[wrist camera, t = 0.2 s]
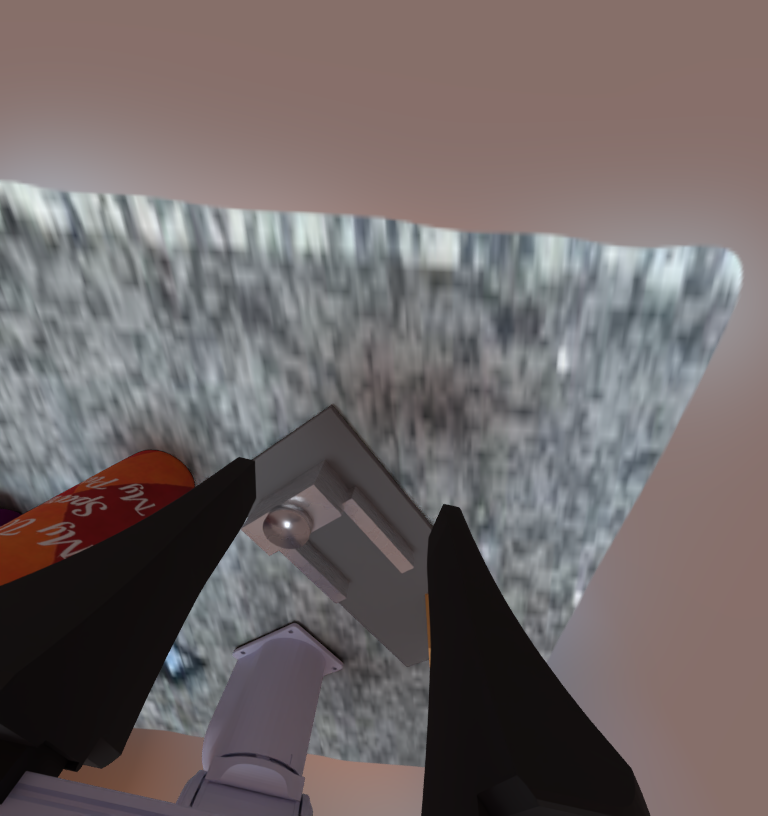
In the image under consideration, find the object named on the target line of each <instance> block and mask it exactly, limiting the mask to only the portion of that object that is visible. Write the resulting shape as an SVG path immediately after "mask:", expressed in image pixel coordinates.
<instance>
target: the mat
mask: <svg viewBox="0 0 768 816" xmlns="http://www.w3.org/2000/svg"><path fill="white" fill-rule="evenodd" d="M253 460H254V461H255V473H256V500H255V502H254V504H253V506H252V508H251V510H250V512H249V514H248V516H247V517H249V516H250V514H251V513H252V511H253V510H254V508H255V507H256V505H257V504H258V502H259V501H261V500H262V499H264V498H265V497H267V496H269V495H270V494H272V493H273V492H275V491H276V490H278V489H280V488H281V487H283V486H284V485H286V484H288V483H289V482H291V481H292V480H294V479H296V478H297V477H299V476H300V475H302V474H303V473H305V472H307V471H308V470H310V469H311V468H313V467H315V466H316V465H318V464H319V463H321V462H322V461H324V460H325V461H326V462H327V463H328V464H329V465H330V466H331V467H332V468H333V470H334V471H335V472H336V473H337V474H338V475H339V476H340V477H341V479H342V480H343V481H344V482H345V483H346V484H347V485H348V486H349V488H351V487H352V486H354V485H356V486H357V487H358V488H359V489H360V490H361V492H362V493H363V494H364V495H365V496H366V497H367V498H368V500H369V501H370V502H371V503H372V504H373V505H374V506H375V508H376V509H377V510H378V511H379V512H380V513H381V514H382V516H383V517H384V518H385V519H386V520H387V521H388V522H389V523H390V525H391V526H392V527H393V528H394V529H395V530H396V531H397V533H398V534H399V535H400V536H401V537H402V538H403V539H404V541H405V542H406V543H407V544H408V545H409V546H410V547H411V549H412V550H413V551H414V568H413V569H410V570H408V571H406V572H404V573H401V572H400V571H399V570H398V569H397V568H396V567H395V566H394V564H393V563H392V562H391V561H390V560H389V559H388V558H387V557H386V556H385V555H384V554H383V553H382V551H381V550H380V549H379V548H378V547H377V546H376V545H375V544H374V543H373V542H372V541H371V540H370V539H369V537H368V536H367V535H366V534H365V533H364V532H363V531H362V530H361V529H360V528H359V527H358V526H357V524H356V523H355V522H354V521H353V520H352V519H351V518H350V517H349V516H348V515H347V514H346V513H345V511H343V515H342V516H340V517H339V518H337V519H335V520H333V521H331V522H330V523H328V524H326V525H324V526H322V527H320V528H319V529H317V530H315V531H313V532H311V534H310V536H309V539H308V541H309V542H310V543H311V544H312V545H313V546H314V547H315V548H316V549H317V550H318V551H319V552H320V553H321V554H322V555H323V556H324V557H325V558H326V559H327V560H328V561H329V562H330V563H331V564H333V565H334V566H335V567H336V568H337V569H338V570H339V571H340V572H341V573H342V574H343V575H344V576H345V577H346V578H347V579H348V580H349V581H350V583H349V588H348V593H347V599H344V600H342V601H340V602H338V603H340V604H341V605H342V606H343V607H344V608H345V609H346V610H347V611H348V612H349V613H350V614H351V615H352V616H353V617H354V618H355V619H357V620H358V621H359V622H360V623H361V624H362V625H363V626H364V627H365V628H366V629H367V630H368V631H369V632H370V633H371V634H372V635H373V636H375V637H376V638H377V639H378V640H379V641H380V642H381V643H382V644H383V645H384V646H385V647H386V648H387V649H388V650H389V651H390V652H392V653H393V654H394V655H395V656H396V657H397V658H398V659H399V660H400V661H401V662H402V663H403V664H404V665H405V666H406V667H409V666H412V665H414V664H417V663H420V662H423V661H426V660H429V649H428V634H427V618H426V602H425V594H428V579H427V552H428V537H429V535H430V533H431V530H432V528H433V527H432V526H431V524H430V523H429V522H428V521H427V519H426V518H425V517H424V516H423V515H422V513H421V512H420V511H419V510H418V509H417V507H416V506H415V505H414V504H413V502H412V501H411V500H410V499H409V498H408V496H407V495H406V494H405V493H404V492H403V490H402V489H401V488H400V487H399V486H398V484H397V483H396V482H395V481H394V479H393V478H392V477H391V476H390V475H389V473H388V472H387V471H386V470H385V469H384V467H383V466H382V465H381V464H380V462H379V461H378V460H377V459H376V458H375V456H374V455H373V454H372V453H371V452H370V450H369V449H368V448H367V447H366V445H365V444H364V443H363V442H362V441H361V439H360V438H359V437H358V436H357V435H356V433H355V432H354V431H353V430H352V428H351V427H350V426H349V425H348V424H347V422H346V421H345V420H344V419H343V418H342V416H341V415H340V414H339V413H338V412H337V410H336V409H335V408H334V407H333V405H331V406H329V407H328V408H327V409H325V410H324V411H322V412H321V413H319V414H318V415H316V416H315V417H314V418H312V419H311V420H309V421H308V422H306V423H305V424H303V425H302V426H300V427H299V428H298V429H296V430H295V431H293V432H292V433H290V434H289V435H287V436H286V437H285V438H283V439H282V440H280V441H279V442H277V443H276V444H274V445H273V446H271V447H270V448H269V449H267V450H266V451H264V452H263V453H261V454H260V455H258V456H257V457H256V458H254V459H253Z"/></svg>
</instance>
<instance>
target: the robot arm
mask: <svg viewBox="0 0 768 816" xmlns="http://www.w3.org/2000/svg"><path fill="white" fill-rule="evenodd" d="M255 500H256V473H255V461H254V460H250V459H245V458H241V457H238V458H237V459H235V460H234V461H232V462H231V463H229V464H228V465H227V466H225V467H224V468H222V469H221V470H219V471H218V472H217V473H215V474H214V475H212V476H211V477H209V478H208V479H207V480H205V481H204V482H202V483H201V484H199V485H198V486H196V487H195V488H193V489H192V490H190V491H189V492H187V493H186V494H184V495H183V496H181V497H179V498H178V499H176V500H175V501H173V502H171V503H170V504H168V505H167V506H165V507H163V508H162V509H160V510H158V511H157V512H155V513H153V514H152V515H150V516H148V517H147V518H145V519H143V520H141V521H139V522H138V523H136V524H134V525H132V526H130V527H129V528H127V529H125V530H123V531H121V532H119V533H117V534H115V535H113V536H111V537H109V538H107V539H105V540H103V541H101V542H99V543H97V544H95V545H93V546H91V547H89V548H87V549H85V550H83V551H81V552H78V553H76V554H74V555H72V556H70V557H68V558H66V559H63V560H61V561H59V562H56V563H54V564H52V565H49V566H47V567H45V568H42V569H40V570H38V571H35V572H33V573H31V574H28V575H26V576H23V577H21V578H18V579H16V580H14V581H11V582H9V583H6V584H3V585H1V586H0V816H313V810H312V806H311V803H310V798H309V796H308V795H306V794H302V791H303V786H304V780H305V777H302V774H303V769H304V764H305V760H306V755H307V750H308V745H309V741H310V736H311V731H312V726H313V722H314V717H315V712H316V707H317V703H318V698H319V693H320V688H321V684H322V679H323V676H325V675H327V674H330V673H333V672H335V671H338V670H341V669H342V668H343V663H342V661H340V660H339V659H338V658H337V657H336V656H335V655H333V654H332V653H331V652H330V651H329V650H328V649H326V648H325V647H324V646H323V645H322V644H321V643H319V642H318V641H317V640H316V639H315V638H314V637H313V636H311V635H310V634H309V633H308V632H307V631H306V630H304V629H303V628H302V627H301V626H300V625H299V624H297V623H292V624H290V625H288V626H286V627H284V628H281V629H279V630H277V631H275V632H273V633H270V634H268V635H266V636H264V637H262V638H259V639H257V640H255V641H253V642H251V643H248V644H246V645H244V646H242V647H240V648H237V649H235V650H234V652H233V654H232V655H233V656H234V657H235V658H236V659H237V660H238V661H237V663H236V665H235V667H234V669H233V672H232V674H231V676H230V678H229V681H228V683H227V685H226V687H225V690H224V692H223V694H222V696H221V699H220V701H219V703H218V705H217V708H216V710H215V712H214V714H213V717H212V719H211V721H210V723H209V726H208V728H207V731H206V734H205V738H204V743H203V751H202V764H203V769H204V770H199V771H198V772H197V774H196V775H195V776H193V777H192V778H191V779H190V780H189V781H188V782H187V783H186V785H185V786H184V788H183V790H182V792H181V794H180V796H179V798H178V800H177V802H176V804H175V803H171V802H166V801H161V800H157V799H153V798H148V797H143V796H139V795H134V794H130V793H125V792H120V791H116V790H111V789H107V788H102V787H97V786H93V785H88V784H84V783H78V782H74V781H70V780H65V779H61V778H58V776H59V775H60V773H61V772H62V770H63V769H65V770H70V771H75V772H77V771H79V769H80V768H81V767H82V765H87V766H91V767H97V768H101V769H102V768H103V767H106V766H107V765H109V764H110V763H112V762H113V761H114V760H115V759H117V758H118V757H119V756H120V755H121V754H122V751H123V749H124V747H125V745H126V742H127V740H128V738H129V736H130V733H131V731H132V729H133V727H134V725H135V723H136V721H137V718H138V716H139V714H140V712H141V710H142V707H143V705H144V703H145V701H146V699H147V697H148V694H149V692H150V690H151V688H152V686H153V684H154V682H155V680H156V678H157V676H158V674H159V672H160V670H161V668H162V666H163V663H164V661H165V659H166V657H167V655H168V653H169V651H170V649H171V647H172V645H173V643H174V641H175V640H176V638H177V636H178V634H179V632H180V630H181V628H182V626H183V624H184V622H185V620H186V618H187V616H188V614H189V612H190V611H191V609H192V607H193V605H194V603H195V601H196V599H197V597H198V595H199V594H200V592H201V590H202V589H203V587H204V585H205V584H206V582H207V580H208V579H209V577H210V576H211V574H212V573H213V571H214V570H215V568H216V566H217V565H218V563H219V562H220V560H221V559H222V557H223V556H224V554H225V552H226V551H227V549H228V548H229V546H230V545H231V543H232V542H233V540H234V538H235V537H236V535H237V534H238V532H239V531H240V529H241V527H242V526H243V524H244V522H245V520H246V518H247V516H248V514H249V512H250V510H251V508H252V506H253V504H254V502H255ZM427 579H428V598H429V616H430V640H431V652H430V684H429V707H428V727H427V744H426V760H425V774H424V788H423V801H422V813H421V816H650V813H649V811H648V808H647V805H646V802H645V800H644V797H643V794H642V792H641V790H640V787H639V785H638V783H637V780H636V778H635V776H634V773H633V771H632V769H631V767H630V766H629V765H628V764H627V763H626V762H625V760H624V759H623V758H622V757H621V756H620V754H619V753H618V752H617V751H616V750H615V749H614V747H613V746H612V745H611V744H610V743H609V742H608V741H607V739H606V738H605V737H604V736H603V735H602V733H601V732H600V731H599V730H598V729H597V727H595V725H594V724H593V723H592V722H591V721H590V719H589V718H588V717H587V716H586V714H585V713H584V712H583V711H582V709H581V708H580V707H579V705H578V704H577V703H576V702H575V700H574V699H573V698H572V697H571V695H570V694H569V693H568V692H567V690H566V689H565V688H564V686H563V685H562V684H561V682H560V681H559V679H558V678H557V677H556V675H555V674H554V673H553V671H552V670H551V669H550V667H549V666H548V664H547V663H546V662H545V660H544V659H543V658H542V656H541V655H540V653H539V652H538V651H537V649H536V648H535V646H534V645H533V643H532V642H531V640H530V639H529V637H528V636H527V634H526V633H525V631H524V630H523V628H522V627H521V625H520V624H519V622H518V620H517V619H516V617H515V616H514V614H513V612H512V611H511V609H510V607H509V606H508V604H507V602H506V601H505V599H504V597H503V595H502V594H501V592H500V590H499V588H498V586H497V585H496V583H495V581H494V579H493V577H492V575H491V573H490V572H489V570H488V568H487V566H486V564H485V562H484V560H483V558H482V556H481V554H480V552H479V549H478V547H477V545H476V543H475V541H474V539H473V537H472V534H471V532H470V530H469V528H468V525H467V523H466V521H465V518H464V516H463V514H462V511H461V509H460V508H459V507H455V506H451V505H446V504H443V506H442V508H441V510H440V513H439V515H438V517H437V519H436V522H435V524H434V526H433V528H432V530H431V533H430V535H429V537H428V552H427Z"/></svg>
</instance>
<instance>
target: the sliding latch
mask: <svg viewBox="0 0 768 816" xmlns="http://www.w3.org/2000/svg"><path fill="white" fill-rule="evenodd" d="M343 511H345V513H346V514H347V515H348V516H349V517H350V518H351V519H352V520H353V521H354V522H355V523H356V524H357V526H358V527H359V528H360V529H361V530H362V531H363V532H364V533H365V534H366V535H367V536H368V537H369V539H370V540H371V541H372V542H373V543H374V544H375V545H376V546H377V547H378V548H379V549H380V550H381V551H382V553H383V554H384V555H385V556H386V557H387V558H388V559H389V560H390V561H391V562H392V563H393V564H394V566H395V567H396V568H397V569H398V570H399V571H400V572H401V573H404V572H406V571H408V570H410V569H413V568H414V551H413V550H412V549H411V547H410V546H409V545H408V544H407V543H406V542H405V541H404V539H403V538H402V537H401V536H400V535H399V534H398V533H397V531H396V530H395V529H394V528H393V527H392V526H391V525H390V523H389V522H388V521H387V520H386V519H385V518H384V517H383V516H382V514H381V513H380V512H379V511H378V510H377V509H376V508H375V506H374V505H373V504H372V503H371V502H370V501H369V500H368V498H367V497H366V496H365V495H364V494H363V493H362V492H361V490H360V489H359V488H358V487H357V486H356V485H354V486H352V487H351V488H349V486H348V485H347V484H346V483H345V482H344V481H343V480H342V479H341V477H340V476H339V475H338V474H337V473H336V472H335V471H334V470H333V468H332V467H331V466H330V465H329V464H328V463H327V462H326V461H325V460H324V461H322V462H321V463H319V464H318V465H316V466H315V467H313V468H311V469H310V470H308V471H307V472H305V473H303V474H302V475H300V476H299V477H297V478H296V479H294V480H292V481H291V482H289V483H288V484H286V485H284V486H283V487H281V488H280V489H278V490H276V491H275V492H273V493H272V494H270V495H269V496H267V497H265V498H264V499H262V500H261V501H259V502H258V504H257V505H256V507H255V508H254V510H253V511H252V513H251V514H250V516H249V517H248V519H247V520H246V522H245V523H244V525H243V526H242V528H241V530H242V531H243V532H244V533H245V534H246V535H247V536H249V537H250V538H251V539H252V540H253V541H254V542H255V543H256V544H257V545H258V546H259V547H261V548H262V549H263V550H264V551H265V552H266V553H267V554H268V555H269V556H270V555H272V554H273V553H275V552H277V551H280V552H281V553H282V554H283V555H284V556H286V557H287V558H288V559H289V560H290V561H291V562H292V563H293V564H294V565H295V566H296V567H297V568H298V569H299V570H301V571H302V572H303V573H304V574H305V575H306V576H307V577H308V578H309V579H310V580H311V581H312V582H313V583H314V584H315V585H317V586H318V587H319V588H320V589H321V590H322V591H323V592H324V593H325V594H326V595H327V596H328V597H329V598H330V599H331V600H333V601H334V602H335V603H338V602H340V601H342V600H344V599H347V593H348V588H349V583H350V581H349V580H348V579H347V578H346V577H345V576H344V575H343V574H342V573H341V572H340V571H339V570H338V569H337V568H336V567H335V566H334V565H333V564H331V563H330V562H329V561H328V560H327V559H326V558H325V557H324V556H323V555H322V554H321V553H320V552H319V551H318V550H317V549H316V548H315V547H314V546H313V545H312V544H311V543H310V542H309V541H308V539H309V536H310V534H311V532H313V531H315V530H317V529H319V528H320V527H322V526H324V525H326V524H328V523H330V522H331V521H333V520H335V519H337V518H339V517H340V516H342V515H343Z"/></svg>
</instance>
